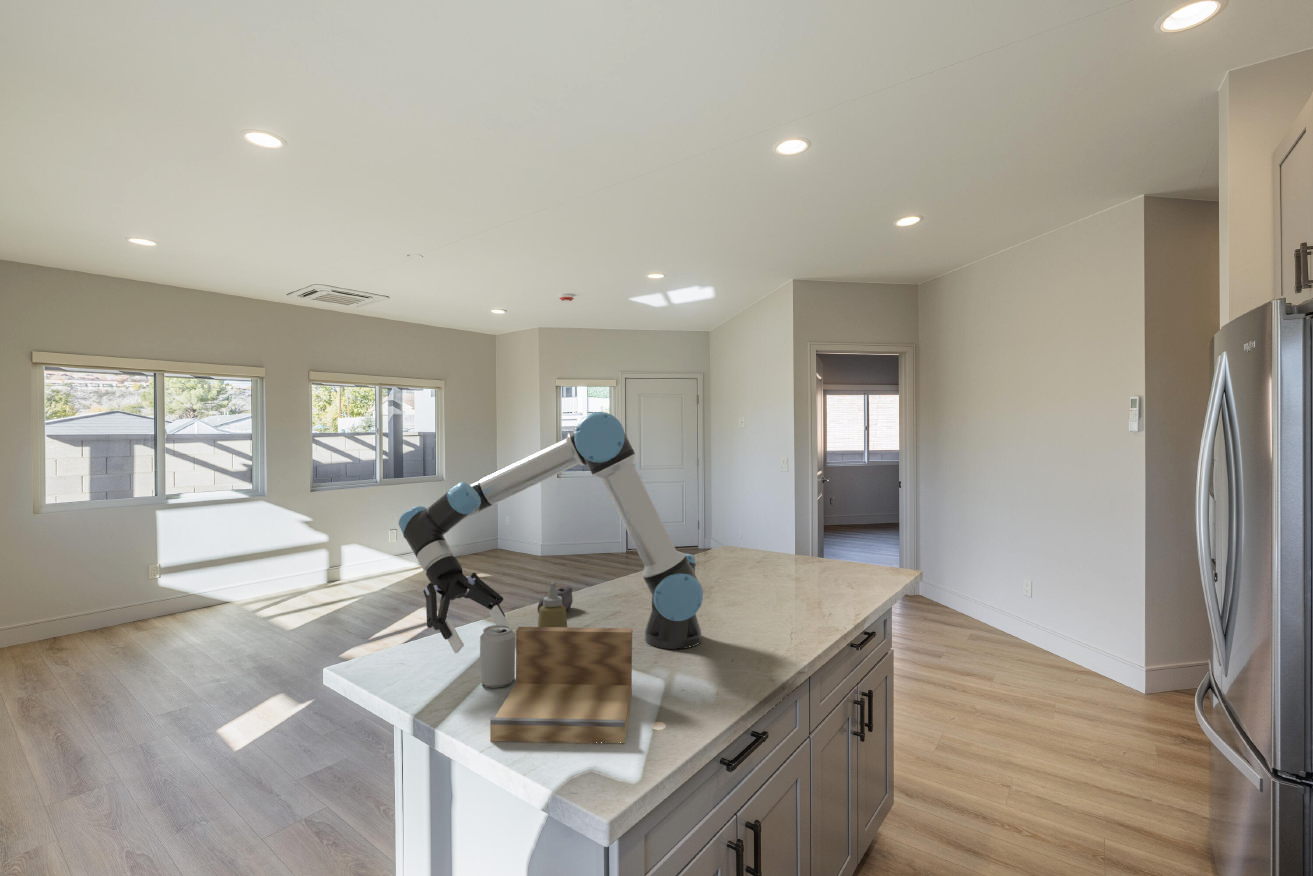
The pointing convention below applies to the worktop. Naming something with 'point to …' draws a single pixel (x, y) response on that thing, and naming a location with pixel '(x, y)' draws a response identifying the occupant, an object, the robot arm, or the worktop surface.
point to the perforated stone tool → (566, 597)
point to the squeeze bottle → (552, 610)
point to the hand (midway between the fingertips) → (484, 640)
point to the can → (497, 656)
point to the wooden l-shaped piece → (568, 687)
